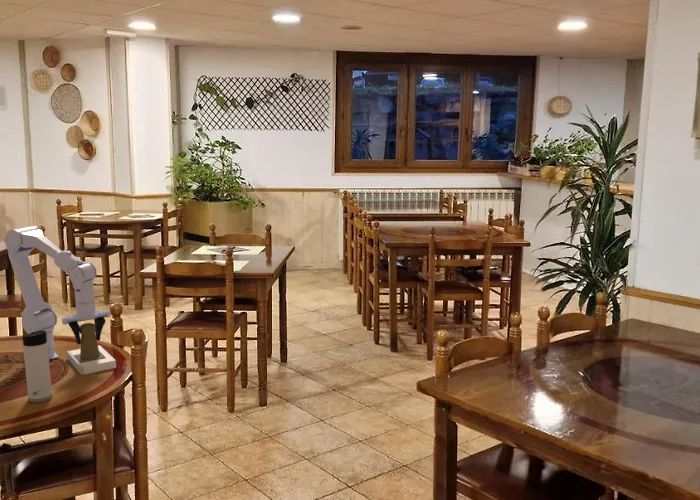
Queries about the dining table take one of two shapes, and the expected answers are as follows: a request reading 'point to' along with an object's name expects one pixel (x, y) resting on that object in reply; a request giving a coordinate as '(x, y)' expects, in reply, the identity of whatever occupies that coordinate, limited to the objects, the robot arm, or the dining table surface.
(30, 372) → the travel mug
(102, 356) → the mat
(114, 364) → the dock board
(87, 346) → the cork
